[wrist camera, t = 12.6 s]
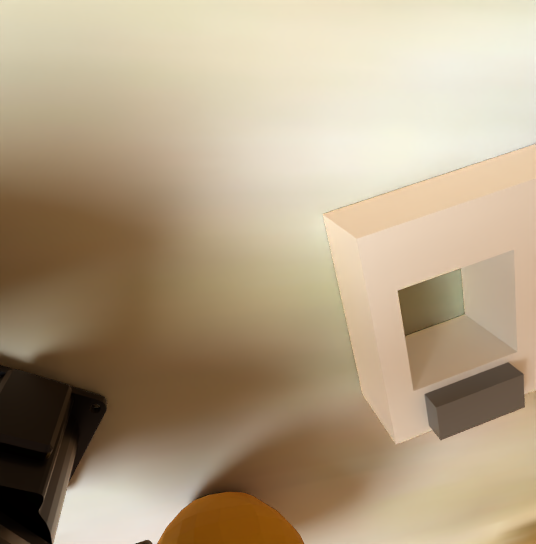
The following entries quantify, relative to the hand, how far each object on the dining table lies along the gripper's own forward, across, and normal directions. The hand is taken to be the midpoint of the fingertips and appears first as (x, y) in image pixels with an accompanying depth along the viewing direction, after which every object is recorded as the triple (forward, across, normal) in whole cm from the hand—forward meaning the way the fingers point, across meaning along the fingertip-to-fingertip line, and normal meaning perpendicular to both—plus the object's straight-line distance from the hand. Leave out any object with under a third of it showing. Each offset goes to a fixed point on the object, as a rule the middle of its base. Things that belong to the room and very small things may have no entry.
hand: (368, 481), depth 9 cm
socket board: (+13, -13, +4) cm, 19 cm away
